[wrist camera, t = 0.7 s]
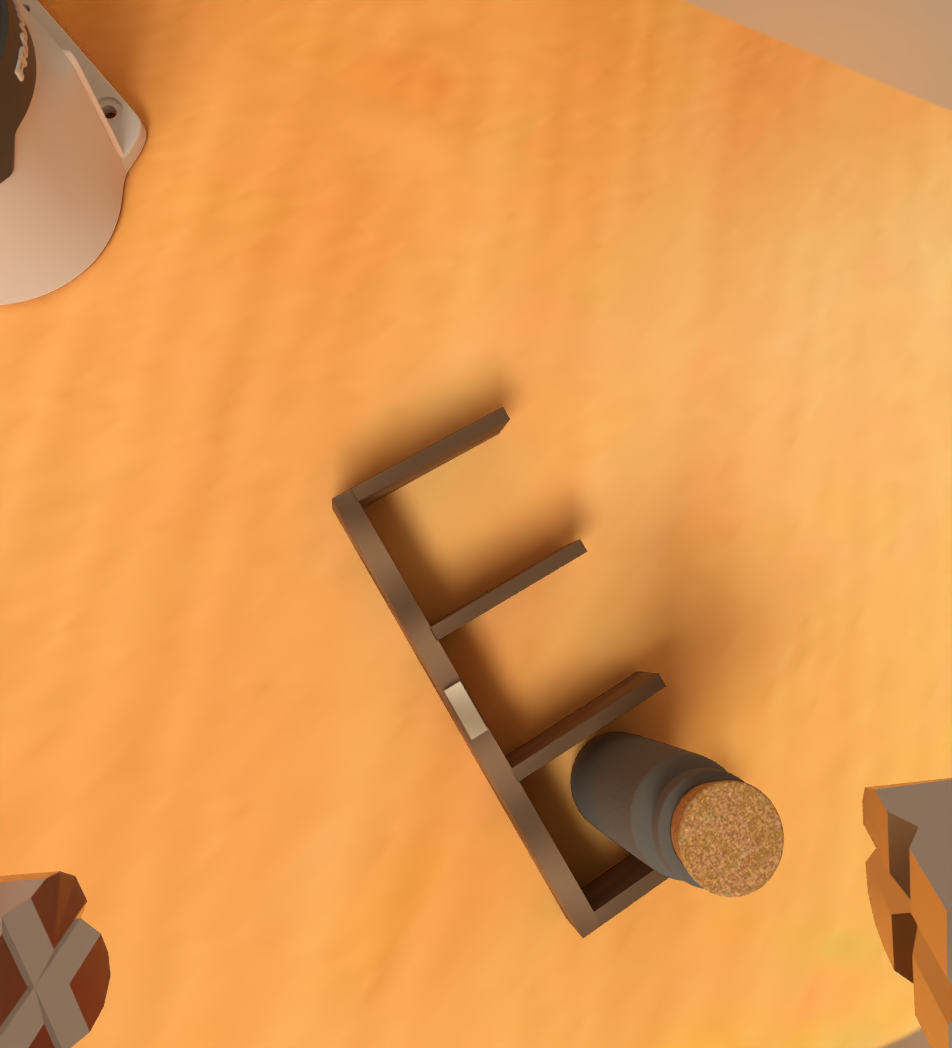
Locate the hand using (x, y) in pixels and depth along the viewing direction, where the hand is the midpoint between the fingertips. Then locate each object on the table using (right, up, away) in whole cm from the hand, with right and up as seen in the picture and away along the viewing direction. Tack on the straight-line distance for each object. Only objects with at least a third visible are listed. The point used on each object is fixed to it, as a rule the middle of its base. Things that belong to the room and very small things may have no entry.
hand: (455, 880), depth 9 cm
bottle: (+9, -12, +41) cm, 44 cm away
